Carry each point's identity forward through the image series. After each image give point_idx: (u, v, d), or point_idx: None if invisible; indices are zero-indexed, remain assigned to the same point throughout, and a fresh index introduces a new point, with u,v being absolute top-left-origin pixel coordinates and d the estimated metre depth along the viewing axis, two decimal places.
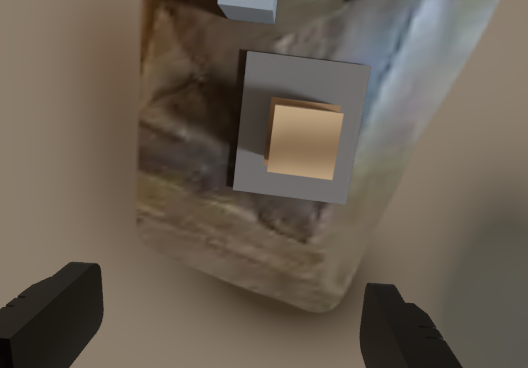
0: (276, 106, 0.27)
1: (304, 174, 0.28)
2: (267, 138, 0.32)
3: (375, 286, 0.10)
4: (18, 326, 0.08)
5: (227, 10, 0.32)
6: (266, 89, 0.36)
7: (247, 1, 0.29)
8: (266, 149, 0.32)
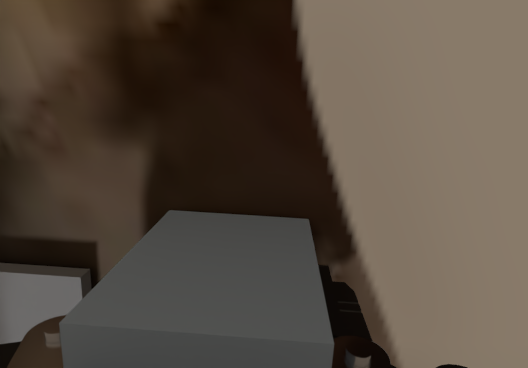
0: None
1: None
2: None
3: None
4: None
5: None
6: None
7: None
8: None
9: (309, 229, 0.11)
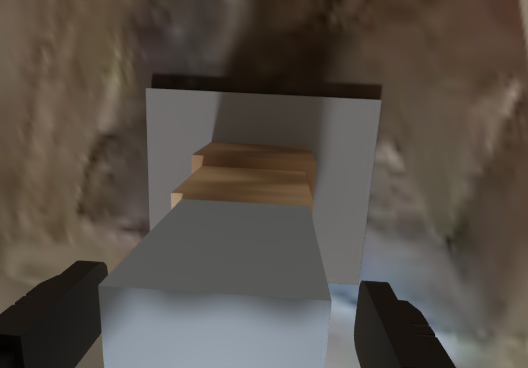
0: (310, 203, 0.13)
1: None
2: (241, 159, 0.18)
3: (369, 284, 0.10)
4: (28, 324, 0.08)
5: None
6: (320, 136, 0.22)
7: None
8: (221, 159, 0.18)
9: (310, 214, 0.12)
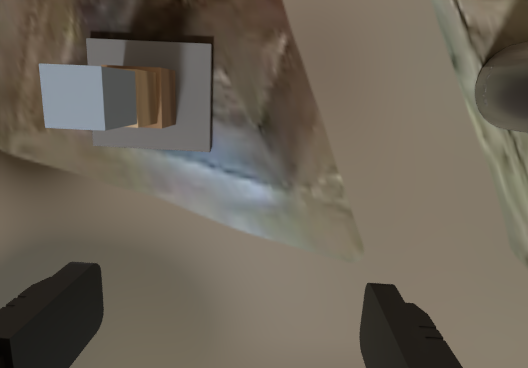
0: (135, 70, 0.31)
1: None
2: (125, 66, 0.36)
3: (375, 286, 0.10)
4: (18, 326, 0.08)
5: None
6: (180, 64, 0.41)
7: (48, 98, 0.26)
8: (115, 66, 0.36)
9: None
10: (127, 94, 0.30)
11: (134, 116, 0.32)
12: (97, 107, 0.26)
